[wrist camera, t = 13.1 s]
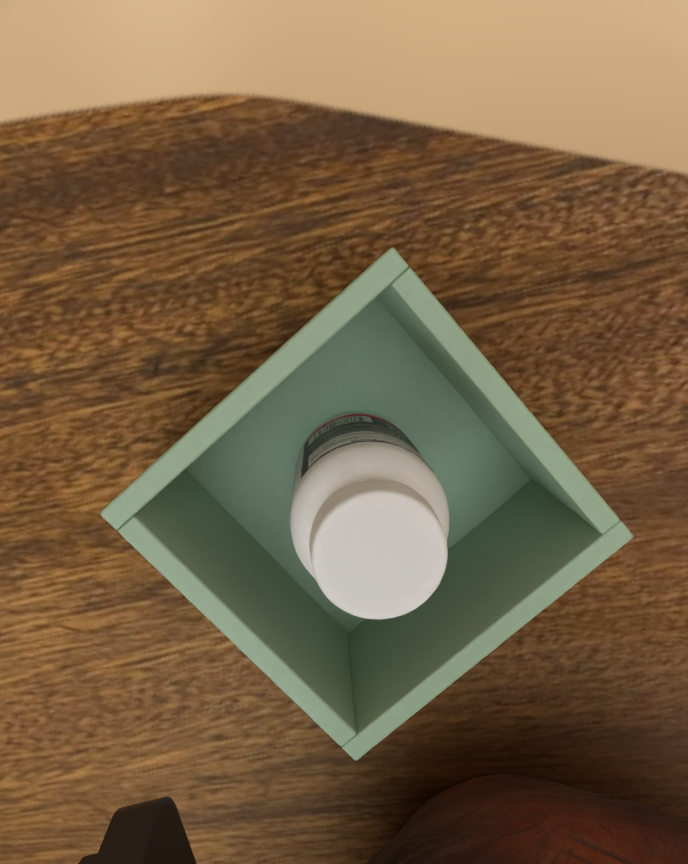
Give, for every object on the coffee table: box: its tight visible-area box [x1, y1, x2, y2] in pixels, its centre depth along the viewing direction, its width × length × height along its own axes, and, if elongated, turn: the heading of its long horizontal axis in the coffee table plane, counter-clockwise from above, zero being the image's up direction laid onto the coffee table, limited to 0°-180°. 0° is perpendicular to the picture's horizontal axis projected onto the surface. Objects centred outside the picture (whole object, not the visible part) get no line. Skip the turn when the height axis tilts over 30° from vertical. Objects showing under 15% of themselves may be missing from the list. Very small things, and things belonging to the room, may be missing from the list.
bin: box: [100, 248, 633, 761], centre depth 24 cm, size 13×13×8 cm
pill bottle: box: [290, 412, 449, 620], centre depth 22 cm, size 5×5×10 cm
